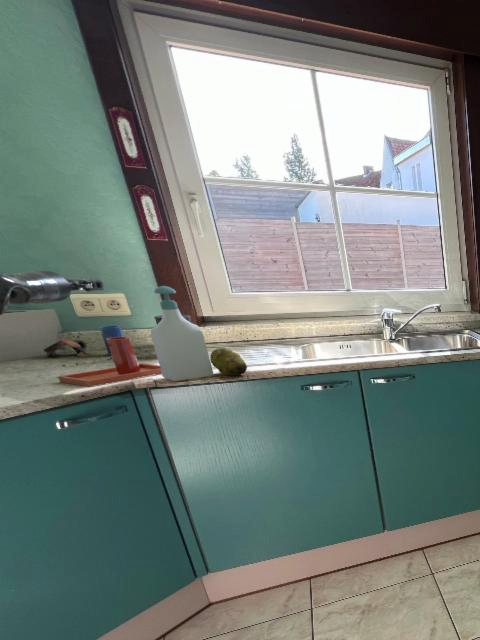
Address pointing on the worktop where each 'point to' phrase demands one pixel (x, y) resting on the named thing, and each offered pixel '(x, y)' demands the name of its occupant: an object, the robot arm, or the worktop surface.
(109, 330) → the blue cup
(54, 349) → the black and orange arch
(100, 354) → the worktop surface
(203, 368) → the soap bottle
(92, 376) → the tray
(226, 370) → the green oval piece
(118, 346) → the red cup
